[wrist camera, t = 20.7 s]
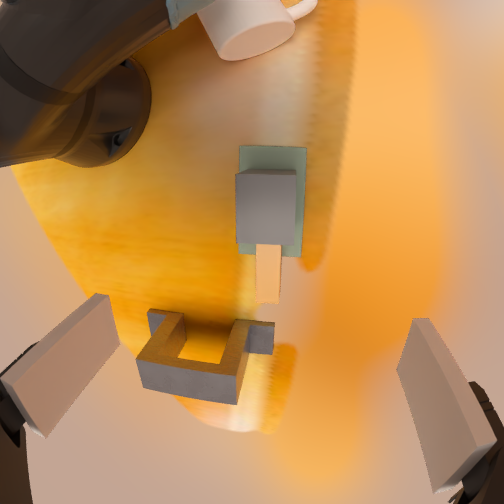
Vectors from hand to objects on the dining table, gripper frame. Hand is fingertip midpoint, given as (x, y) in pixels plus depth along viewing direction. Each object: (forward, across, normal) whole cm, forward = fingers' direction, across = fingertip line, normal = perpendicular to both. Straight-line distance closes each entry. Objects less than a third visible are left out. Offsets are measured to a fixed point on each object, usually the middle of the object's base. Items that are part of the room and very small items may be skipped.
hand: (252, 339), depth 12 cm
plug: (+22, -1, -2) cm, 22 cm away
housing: (+22, -9, -16) cm, 28 cm away
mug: (+22, -2, +24) cm, 33 cm away
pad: (+22, -1, +2) cm, 22 cm away
